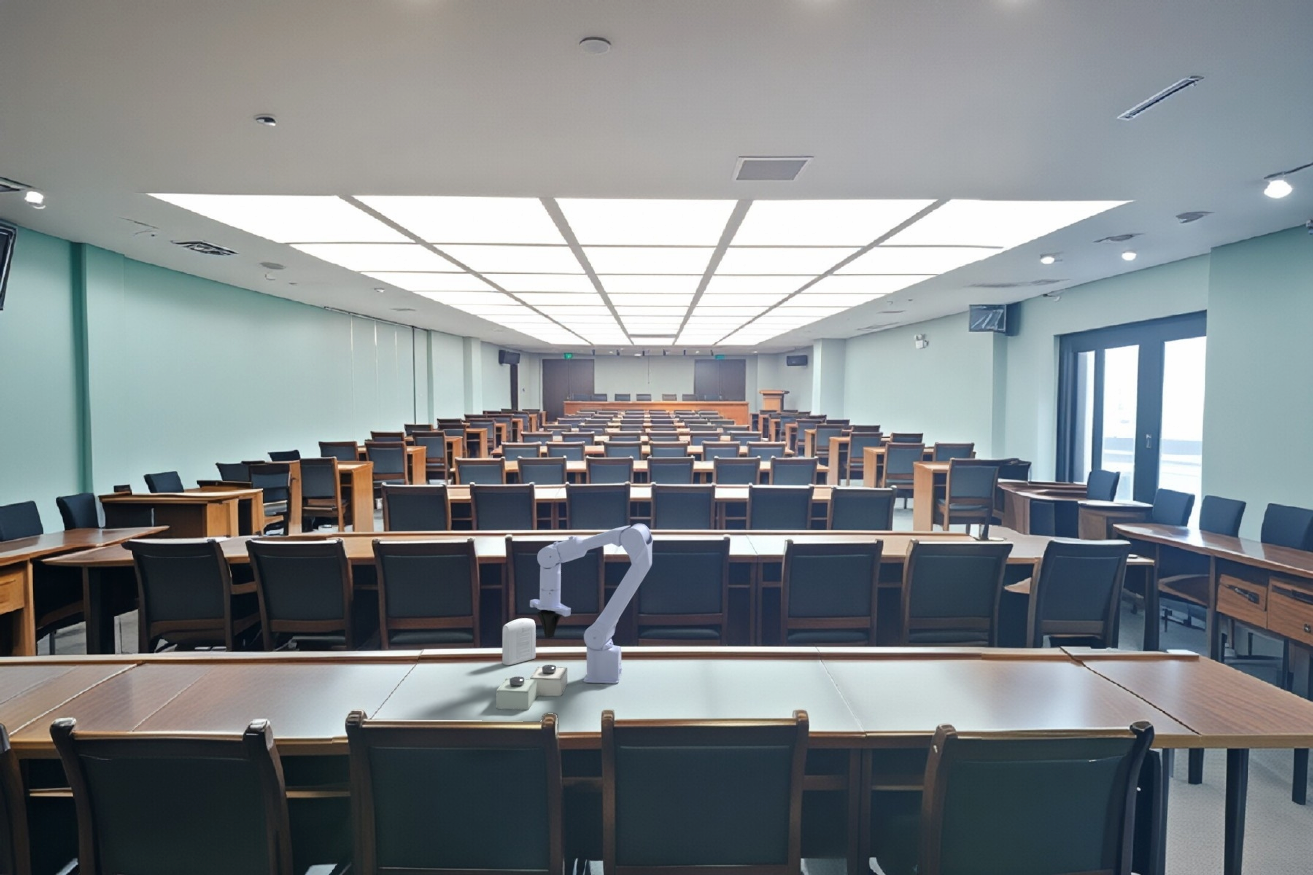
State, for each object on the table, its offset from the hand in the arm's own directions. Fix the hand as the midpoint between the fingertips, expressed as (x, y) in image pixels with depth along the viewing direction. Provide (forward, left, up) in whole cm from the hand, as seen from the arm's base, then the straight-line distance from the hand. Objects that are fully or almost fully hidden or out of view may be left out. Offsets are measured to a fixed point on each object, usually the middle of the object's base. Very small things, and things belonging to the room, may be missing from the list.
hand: (549, 636), depth 191 cm
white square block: (-3, +11, -10) cm, 15 cm away
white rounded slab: (+11, -10, -11) cm, 19 cm away
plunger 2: (-3, +11, -10) cm, 15 cm away
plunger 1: (+3, +20, -10) cm, 23 cm away
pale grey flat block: (+3, +20, -10) cm, 23 cm away
